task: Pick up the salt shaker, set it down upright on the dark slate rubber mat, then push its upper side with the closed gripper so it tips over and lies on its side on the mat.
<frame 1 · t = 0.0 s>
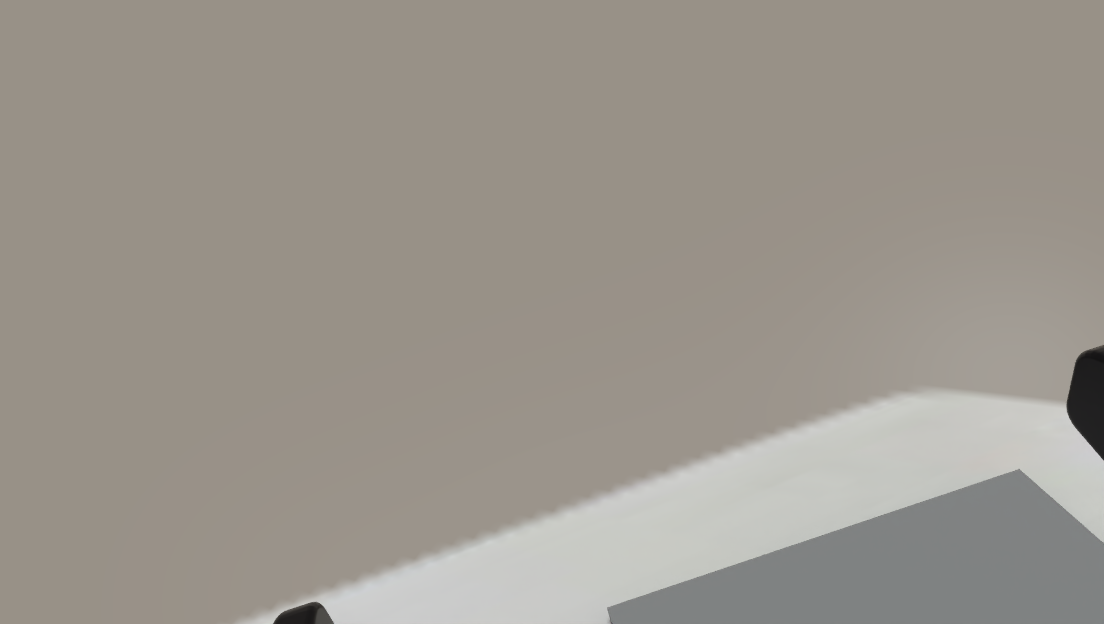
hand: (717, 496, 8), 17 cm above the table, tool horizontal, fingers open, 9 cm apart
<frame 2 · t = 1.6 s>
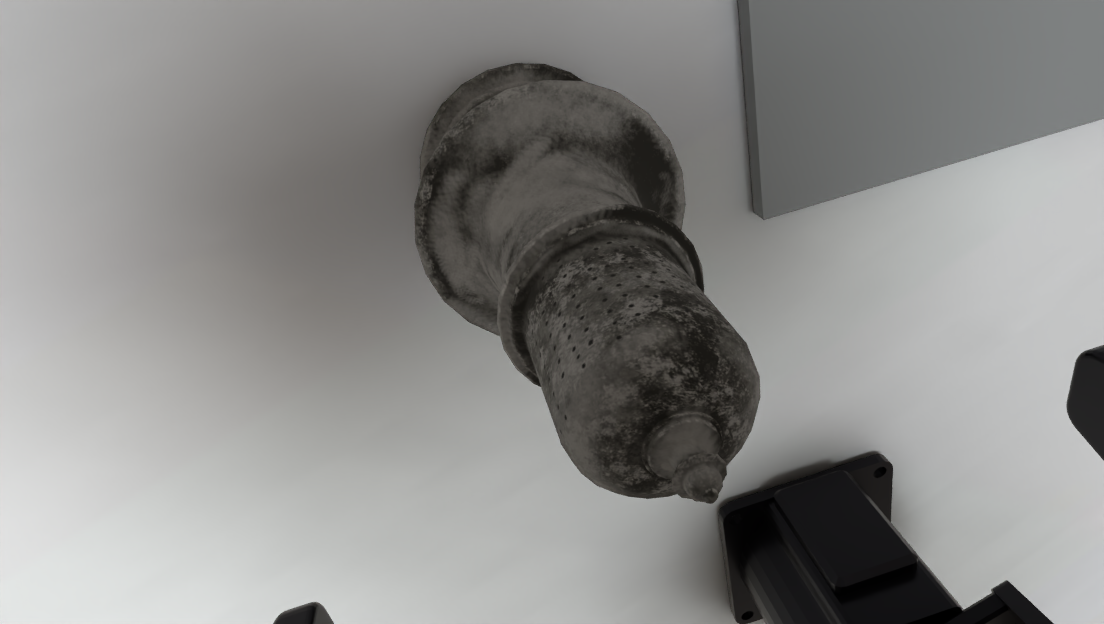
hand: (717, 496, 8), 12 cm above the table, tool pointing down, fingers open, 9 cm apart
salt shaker: (523, 168, 19), on the table
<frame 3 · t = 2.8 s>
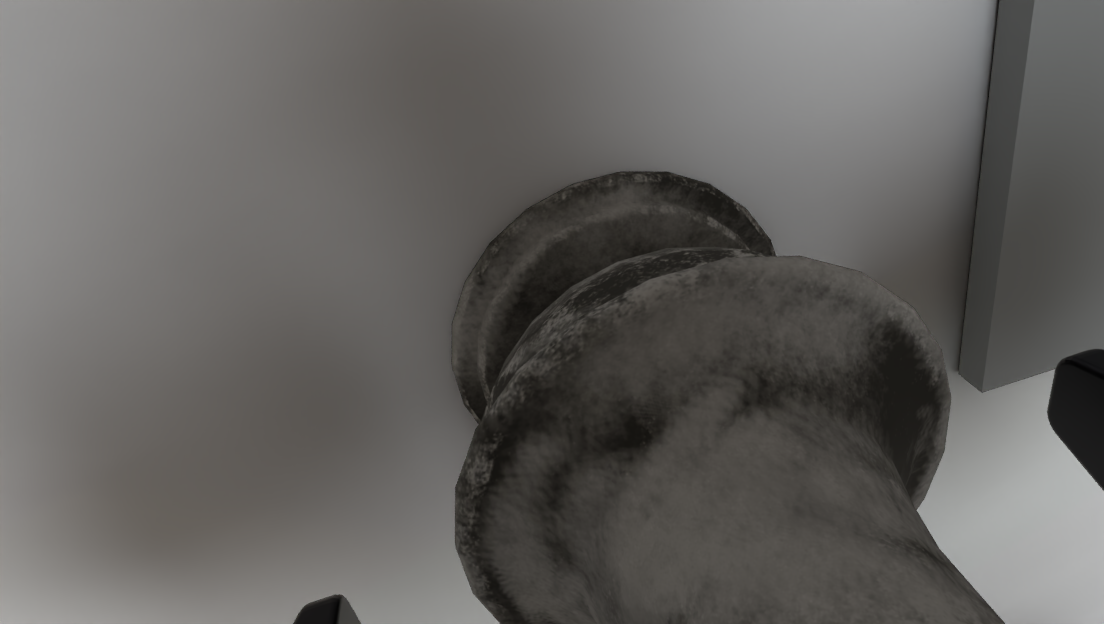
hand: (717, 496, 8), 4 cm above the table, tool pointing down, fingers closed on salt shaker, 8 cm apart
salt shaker: (618, 328, 11), on the table, touching gripper
when the fingers open (6 cm above the table, at t = 7.0 s): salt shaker drops 1 cm, resting on slate mat.
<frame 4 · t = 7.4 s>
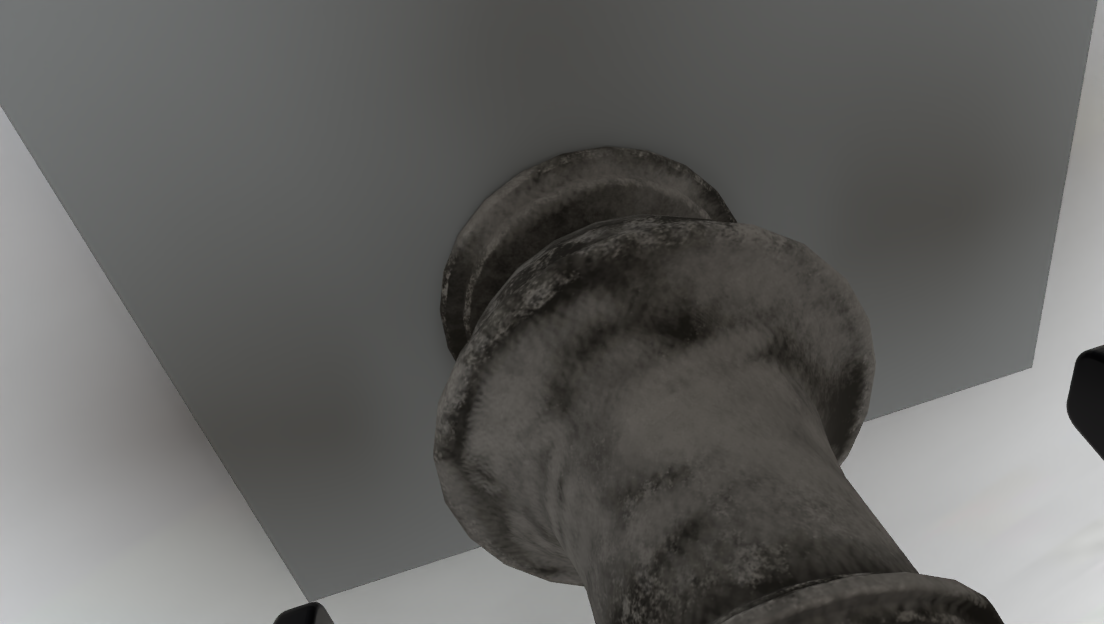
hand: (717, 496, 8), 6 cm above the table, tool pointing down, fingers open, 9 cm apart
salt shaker: (593, 291, 13), resting on slate mat
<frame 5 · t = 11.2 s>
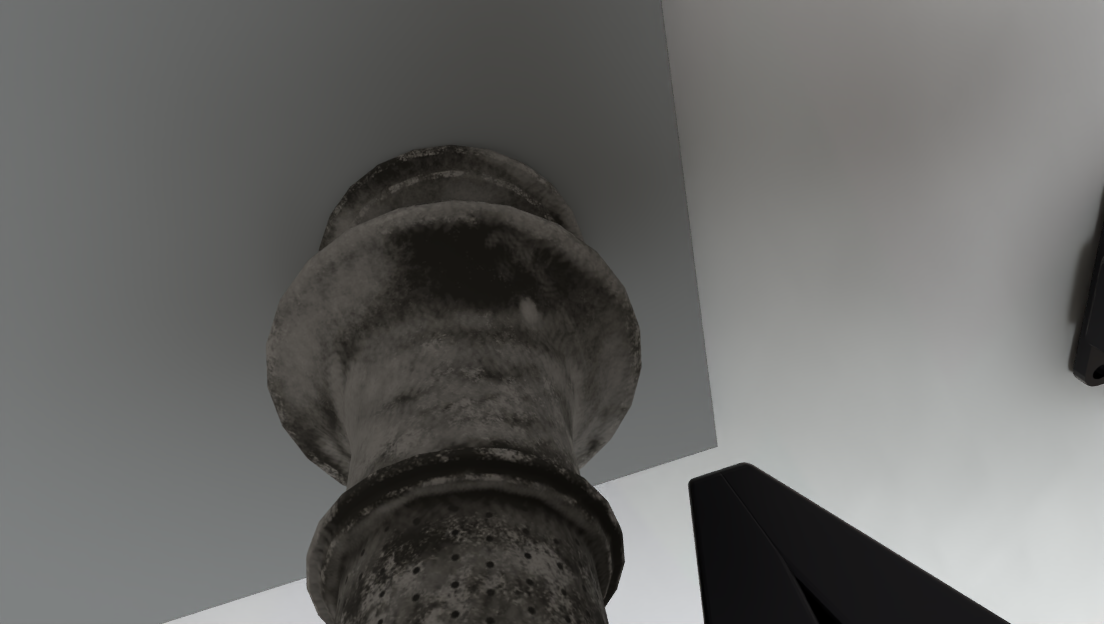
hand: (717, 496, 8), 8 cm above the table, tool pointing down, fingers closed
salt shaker: (455, 269, 15), point 1 cm above the table, touching gripper, slate mat
slate mat: (140, 297, 14), on the table
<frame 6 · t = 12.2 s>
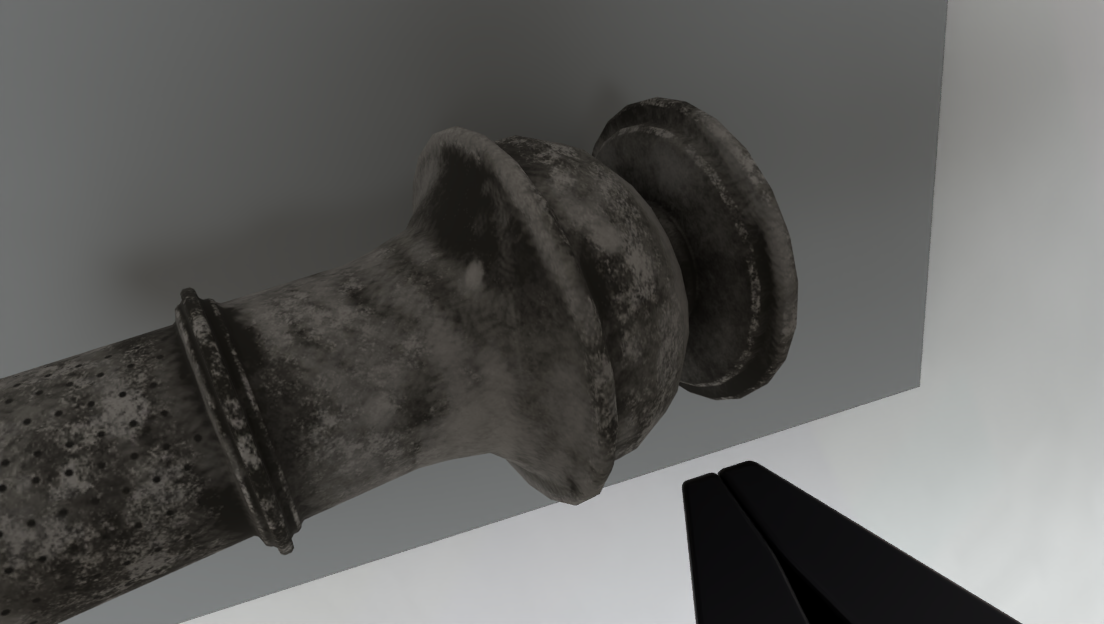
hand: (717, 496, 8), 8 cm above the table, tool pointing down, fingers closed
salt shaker: (686, 250, 13), point 3 cm above the table, touching slate mat
slate mat: (413, 220, 14), on the table
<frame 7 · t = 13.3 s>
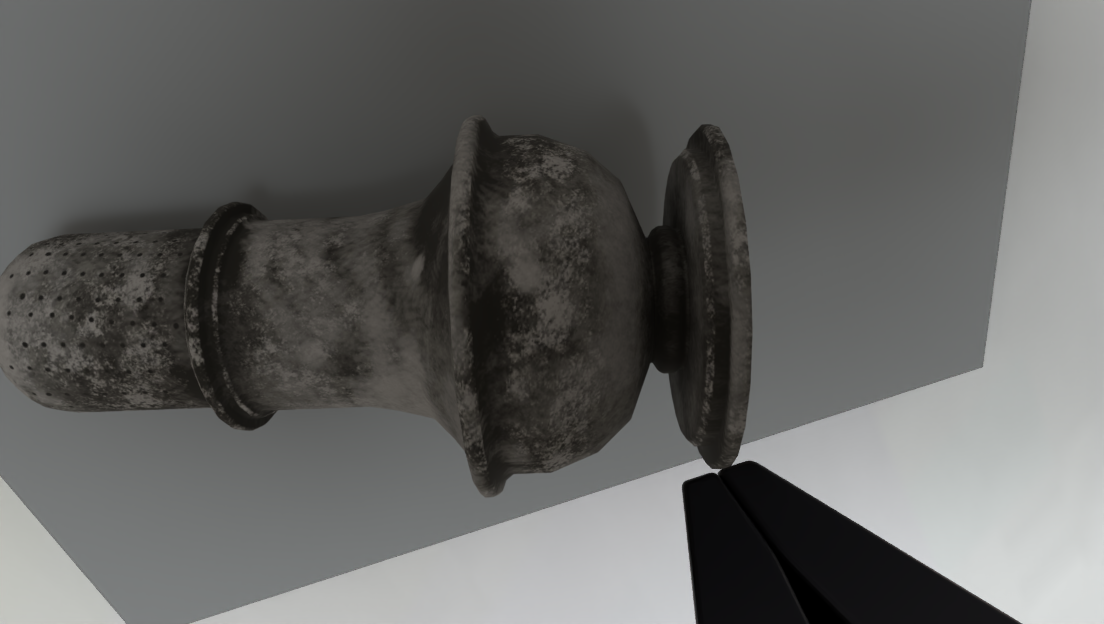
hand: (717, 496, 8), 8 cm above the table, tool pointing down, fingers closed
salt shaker: (723, 297, 11), point 4 cm above the table, touching slate mat
slate mat: (499, 195, 14), on the table
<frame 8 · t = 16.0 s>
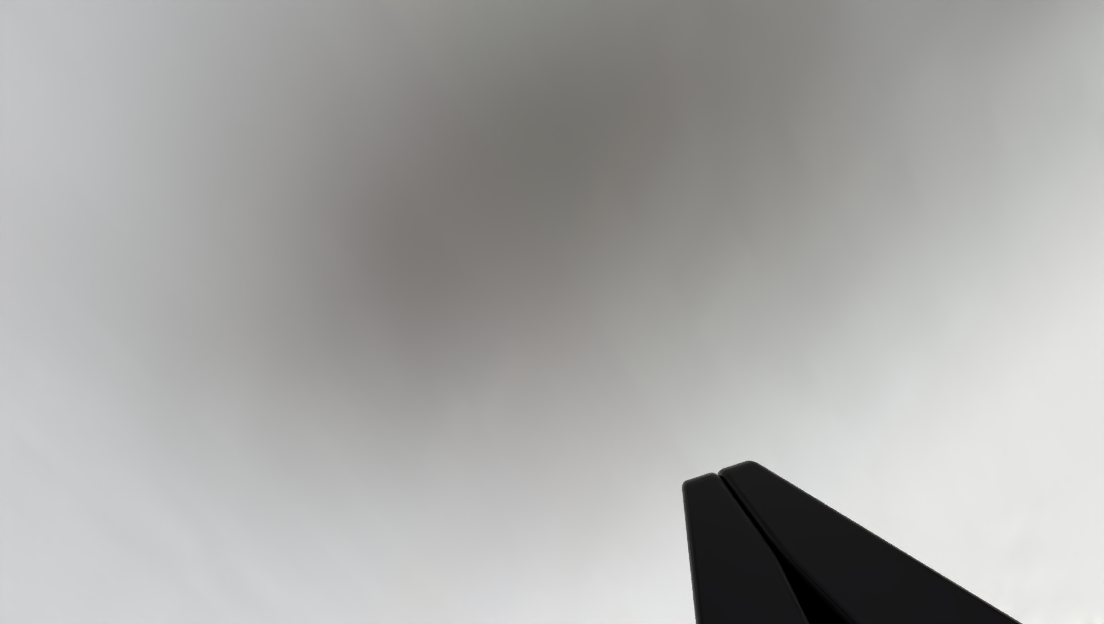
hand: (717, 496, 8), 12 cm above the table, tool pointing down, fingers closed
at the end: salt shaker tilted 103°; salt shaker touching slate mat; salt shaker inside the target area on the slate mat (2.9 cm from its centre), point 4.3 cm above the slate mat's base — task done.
